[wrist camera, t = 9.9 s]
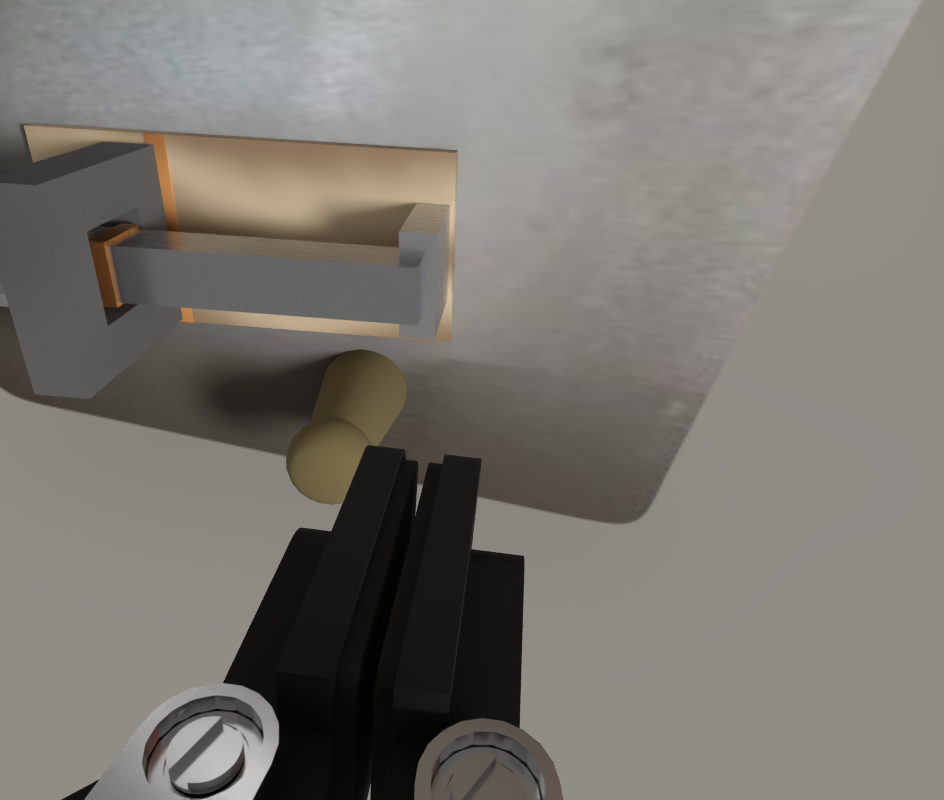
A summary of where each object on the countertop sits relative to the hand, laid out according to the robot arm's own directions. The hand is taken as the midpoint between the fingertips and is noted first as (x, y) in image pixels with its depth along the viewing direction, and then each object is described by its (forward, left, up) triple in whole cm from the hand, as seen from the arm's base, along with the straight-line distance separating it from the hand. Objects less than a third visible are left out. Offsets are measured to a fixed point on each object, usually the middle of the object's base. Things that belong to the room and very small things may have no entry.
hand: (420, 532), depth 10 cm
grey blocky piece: (+6, -16, -35) cm, 39 cm away
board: (+6, -16, -35) cm, 39 cm away
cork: (+17, -9, -35) cm, 40 cm away
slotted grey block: (+6, -22, -33) cm, 41 cm away
